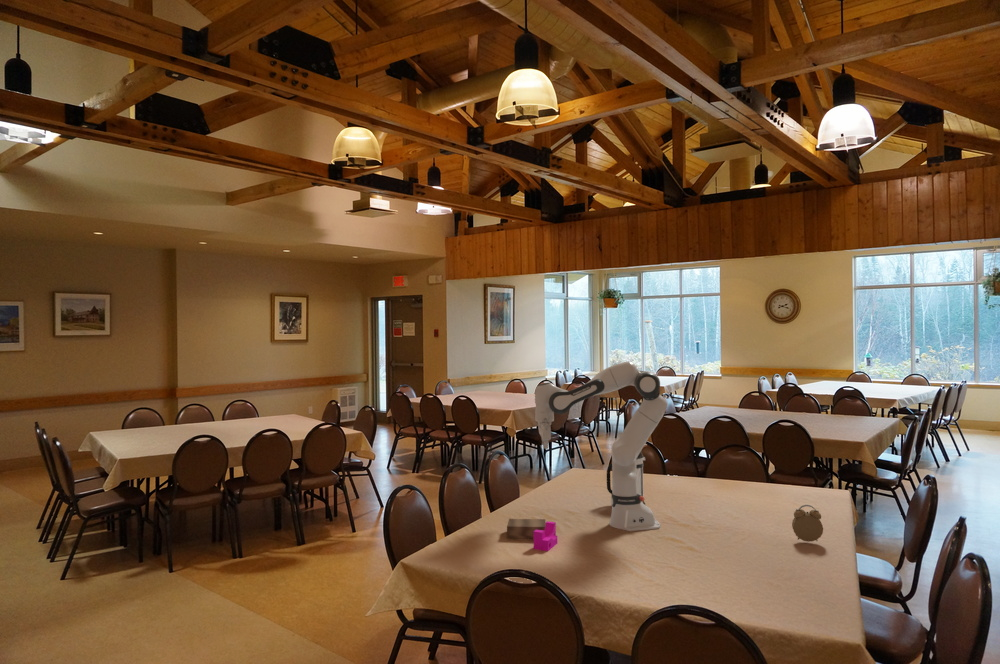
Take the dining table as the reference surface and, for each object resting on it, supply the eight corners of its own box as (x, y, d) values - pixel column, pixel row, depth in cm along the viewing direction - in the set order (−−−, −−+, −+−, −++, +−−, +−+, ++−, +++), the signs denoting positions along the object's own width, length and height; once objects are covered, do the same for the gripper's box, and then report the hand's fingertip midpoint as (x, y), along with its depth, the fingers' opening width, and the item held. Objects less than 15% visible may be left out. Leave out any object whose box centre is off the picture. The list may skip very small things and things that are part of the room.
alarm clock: (821, 540, 256) (821, 504, 256) (824, 544, 251) (823, 507, 251) (792, 538, 259) (791, 502, 259) (793, 541, 255) (793, 505, 255)
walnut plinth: (545, 532, 272) (545, 519, 272) (544, 541, 261) (544, 527, 261) (509, 532, 274) (509, 518, 274) (507, 540, 263) (506, 526, 263)
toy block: (548, 552, 248) (547, 533, 248) (533, 550, 250) (533, 531, 250) (561, 540, 261) (561, 523, 261) (547, 538, 264) (547, 521, 264)
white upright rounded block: (625, 498, 327) (624, 441, 327) (652, 503, 316) (651, 444, 316) (606, 504, 315) (605, 445, 315) (633, 510, 303) (632, 449, 304)
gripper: (553, 420, 281) (554, 450, 281) (548, 414, 301) (549, 443, 301) (540, 420, 281) (540, 451, 280) (535, 414, 301) (536, 443, 301)
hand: (544, 446), depth 291 cm, fingers open, 8 cm apart
